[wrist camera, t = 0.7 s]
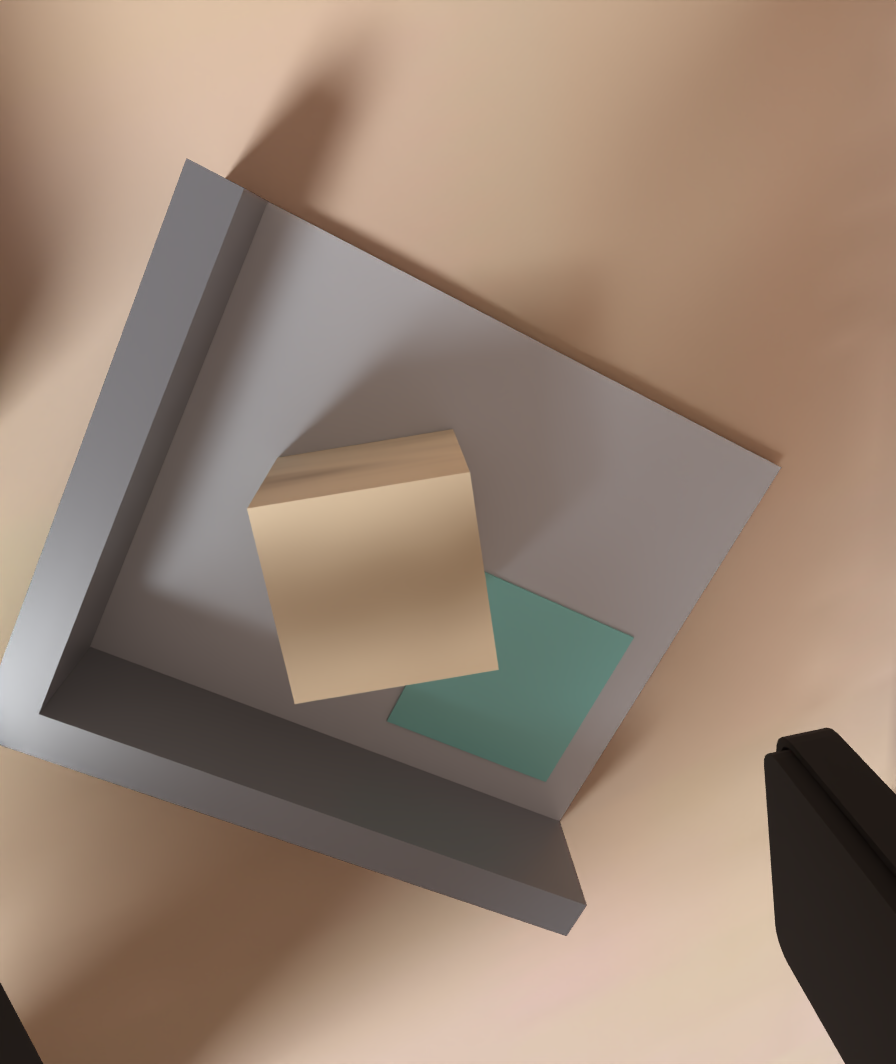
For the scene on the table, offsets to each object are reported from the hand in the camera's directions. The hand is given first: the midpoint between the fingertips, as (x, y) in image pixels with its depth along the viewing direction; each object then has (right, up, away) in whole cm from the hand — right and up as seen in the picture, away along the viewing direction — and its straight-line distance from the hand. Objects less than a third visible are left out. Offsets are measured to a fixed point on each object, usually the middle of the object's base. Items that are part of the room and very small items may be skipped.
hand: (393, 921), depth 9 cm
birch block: (-2, +5, +18) cm, 19 cm away
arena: (-1, +3, +19) cm, 20 cm away
